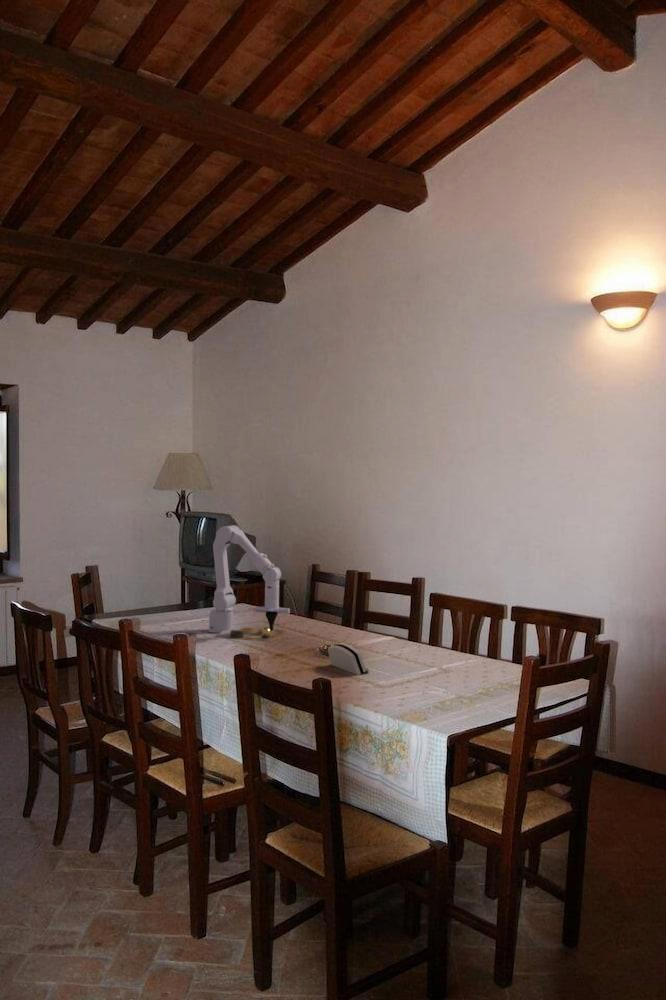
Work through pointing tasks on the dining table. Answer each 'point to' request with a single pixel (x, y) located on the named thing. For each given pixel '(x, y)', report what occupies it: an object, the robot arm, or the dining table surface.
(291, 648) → the dining table surface
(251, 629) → the door board
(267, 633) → the swing bar
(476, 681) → the dining table surface
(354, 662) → the grey half-round piece
